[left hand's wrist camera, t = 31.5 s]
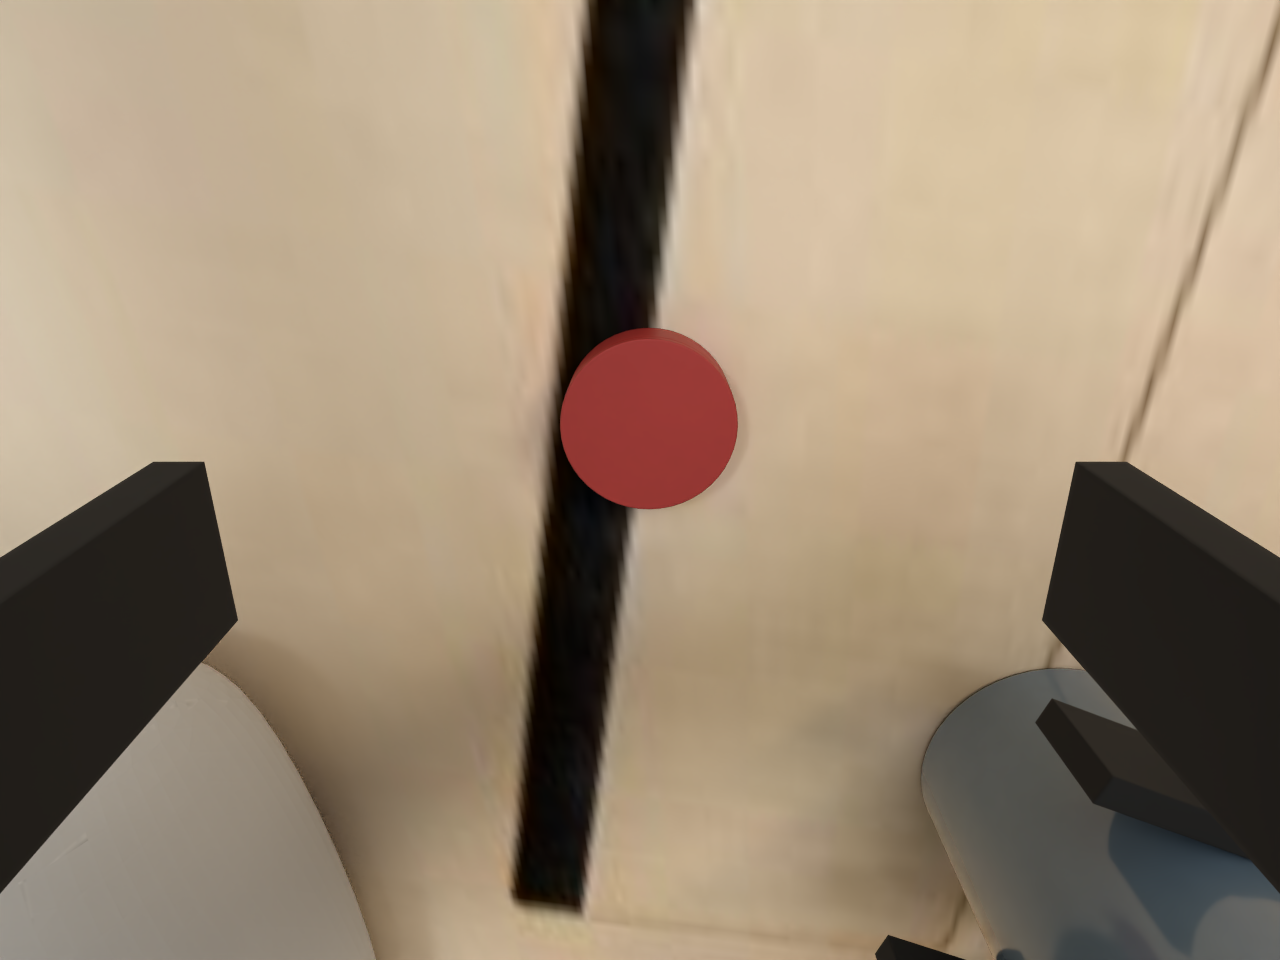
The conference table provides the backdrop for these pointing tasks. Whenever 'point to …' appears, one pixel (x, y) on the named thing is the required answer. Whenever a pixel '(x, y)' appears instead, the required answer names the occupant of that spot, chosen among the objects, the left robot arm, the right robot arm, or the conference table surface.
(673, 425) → the cap
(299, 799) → the projector
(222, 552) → the left robot arm
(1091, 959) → the bottle
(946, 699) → the conference table surface
